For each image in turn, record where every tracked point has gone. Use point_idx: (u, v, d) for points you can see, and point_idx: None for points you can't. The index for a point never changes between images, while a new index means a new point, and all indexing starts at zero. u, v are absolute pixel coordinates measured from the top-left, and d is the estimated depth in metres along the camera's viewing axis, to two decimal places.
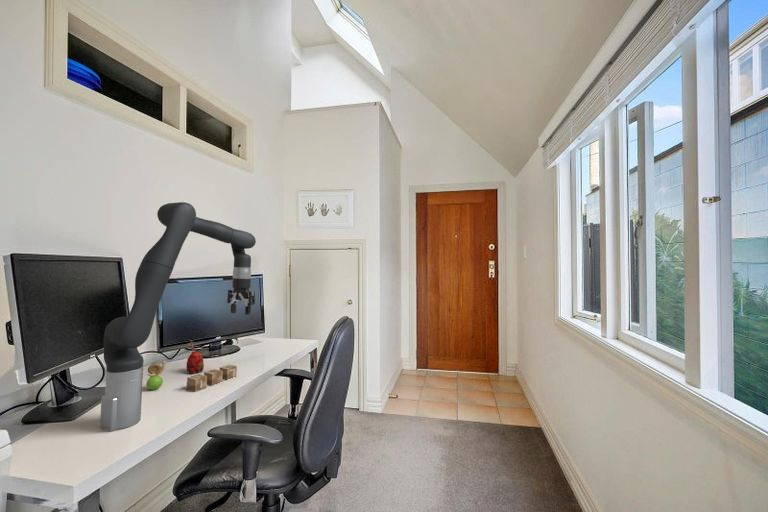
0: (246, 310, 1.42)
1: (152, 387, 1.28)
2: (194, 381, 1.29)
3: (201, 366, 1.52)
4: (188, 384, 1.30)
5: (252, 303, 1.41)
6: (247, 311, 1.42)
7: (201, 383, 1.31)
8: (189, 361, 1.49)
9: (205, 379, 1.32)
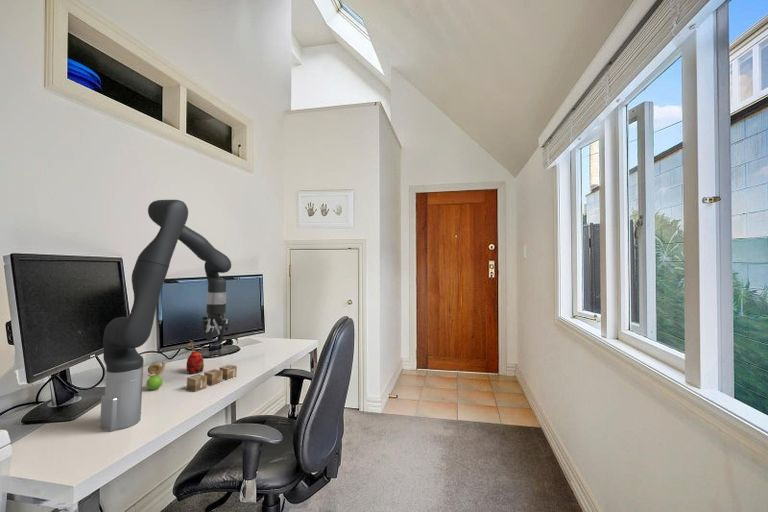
0: (218, 338, 1.37)
1: (152, 387, 1.28)
2: (194, 381, 1.29)
3: (201, 366, 1.52)
4: (188, 384, 1.30)
5: (225, 331, 1.37)
6: (219, 339, 1.37)
7: (201, 383, 1.31)
8: (189, 361, 1.49)
9: (205, 379, 1.32)
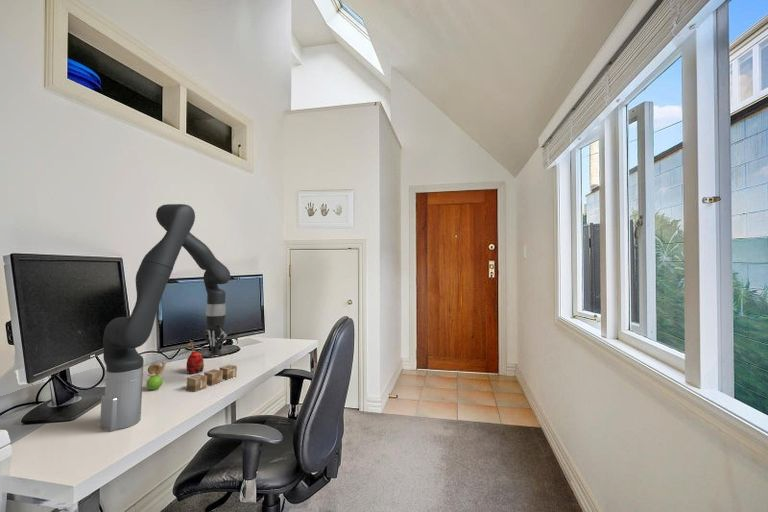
0: (213, 350, 1.38)
1: (152, 387, 1.28)
2: (194, 381, 1.29)
3: (201, 366, 1.52)
4: (188, 384, 1.30)
5: (219, 343, 1.38)
6: (214, 351, 1.38)
7: (201, 383, 1.31)
8: (189, 361, 1.49)
9: (205, 379, 1.32)
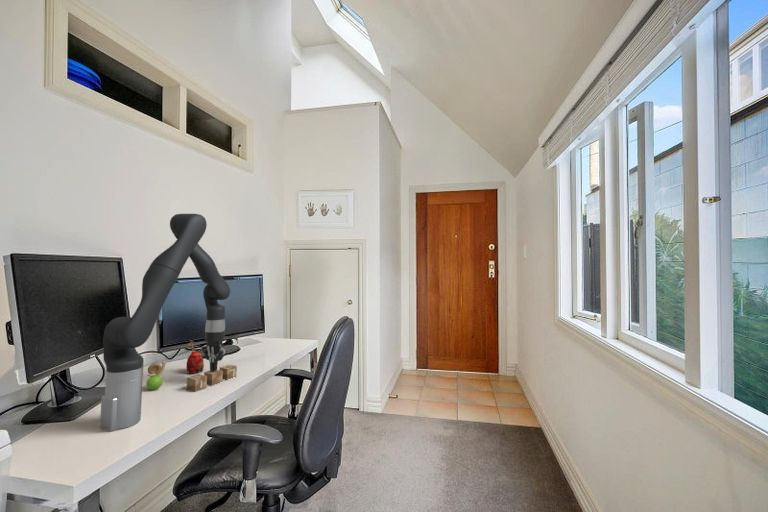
0: (212, 366, 1.37)
1: (152, 387, 1.28)
2: (194, 381, 1.29)
3: (201, 366, 1.52)
4: (188, 384, 1.30)
5: (218, 359, 1.37)
6: (213, 367, 1.37)
7: (201, 383, 1.31)
8: (189, 361, 1.49)
9: (205, 379, 1.32)
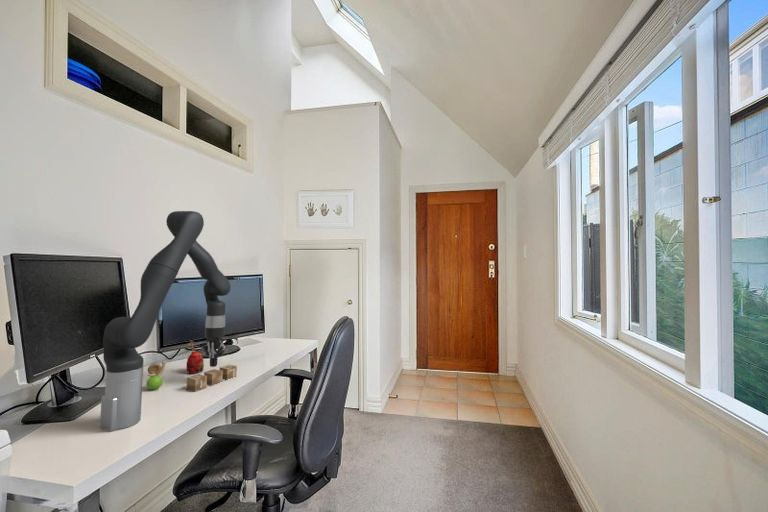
0: (212, 362, 1.37)
1: (152, 387, 1.28)
2: (194, 381, 1.29)
3: (201, 366, 1.52)
4: (188, 384, 1.30)
5: (218, 355, 1.37)
6: (213, 363, 1.37)
7: (201, 383, 1.31)
8: (189, 361, 1.49)
9: (205, 379, 1.32)
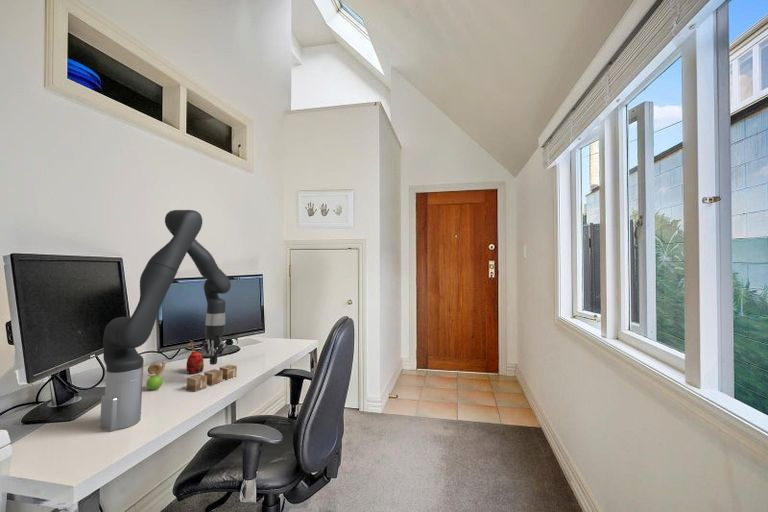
0: (212, 360, 1.37)
1: (152, 387, 1.28)
2: (194, 381, 1.29)
3: (201, 366, 1.52)
4: (188, 384, 1.30)
5: (218, 353, 1.37)
6: (213, 361, 1.37)
7: (201, 383, 1.31)
8: (189, 361, 1.49)
9: (205, 379, 1.32)
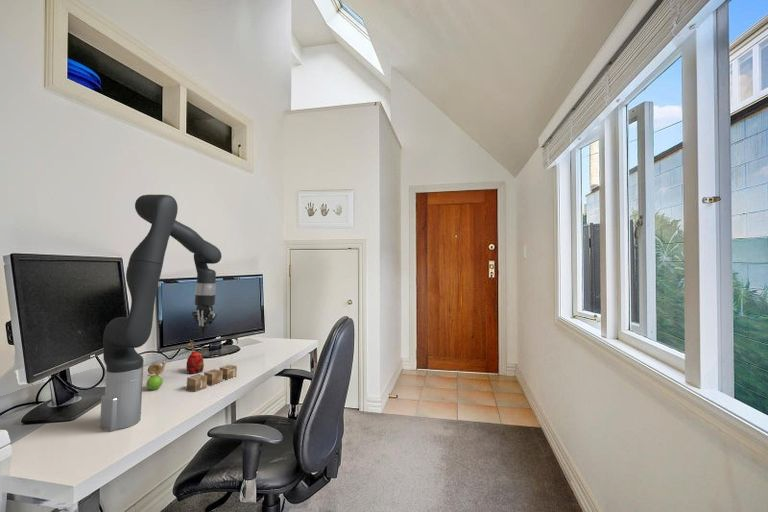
0: (202, 330, 1.36)
1: (152, 387, 1.28)
2: (194, 381, 1.29)
3: (201, 366, 1.52)
4: (188, 384, 1.30)
5: (208, 323, 1.36)
6: (203, 331, 1.36)
7: (201, 383, 1.31)
8: (189, 361, 1.49)
9: (205, 379, 1.32)
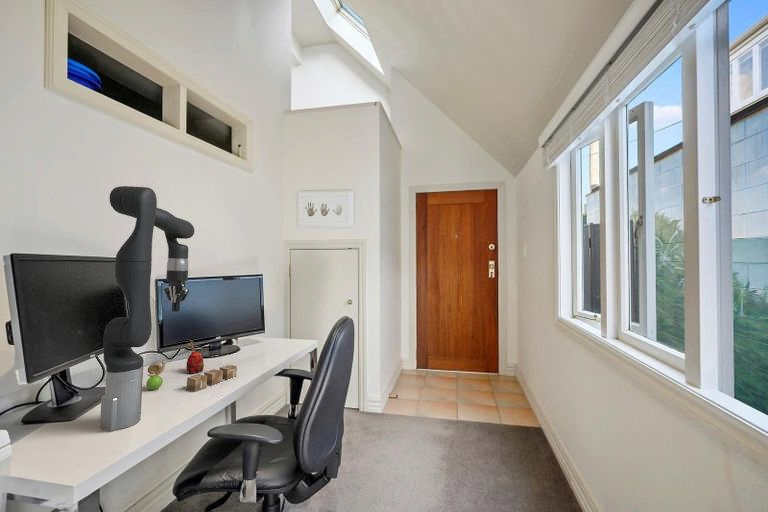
0: (174, 307, 1.32)
1: (152, 387, 1.28)
2: (194, 381, 1.29)
3: (201, 366, 1.52)
4: (188, 384, 1.30)
5: (181, 299, 1.32)
6: (175, 308, 1.32)
7: (201, 383, 1.31)
8: (189, 361, 1.49)
9: (205, 379, 1.32)
